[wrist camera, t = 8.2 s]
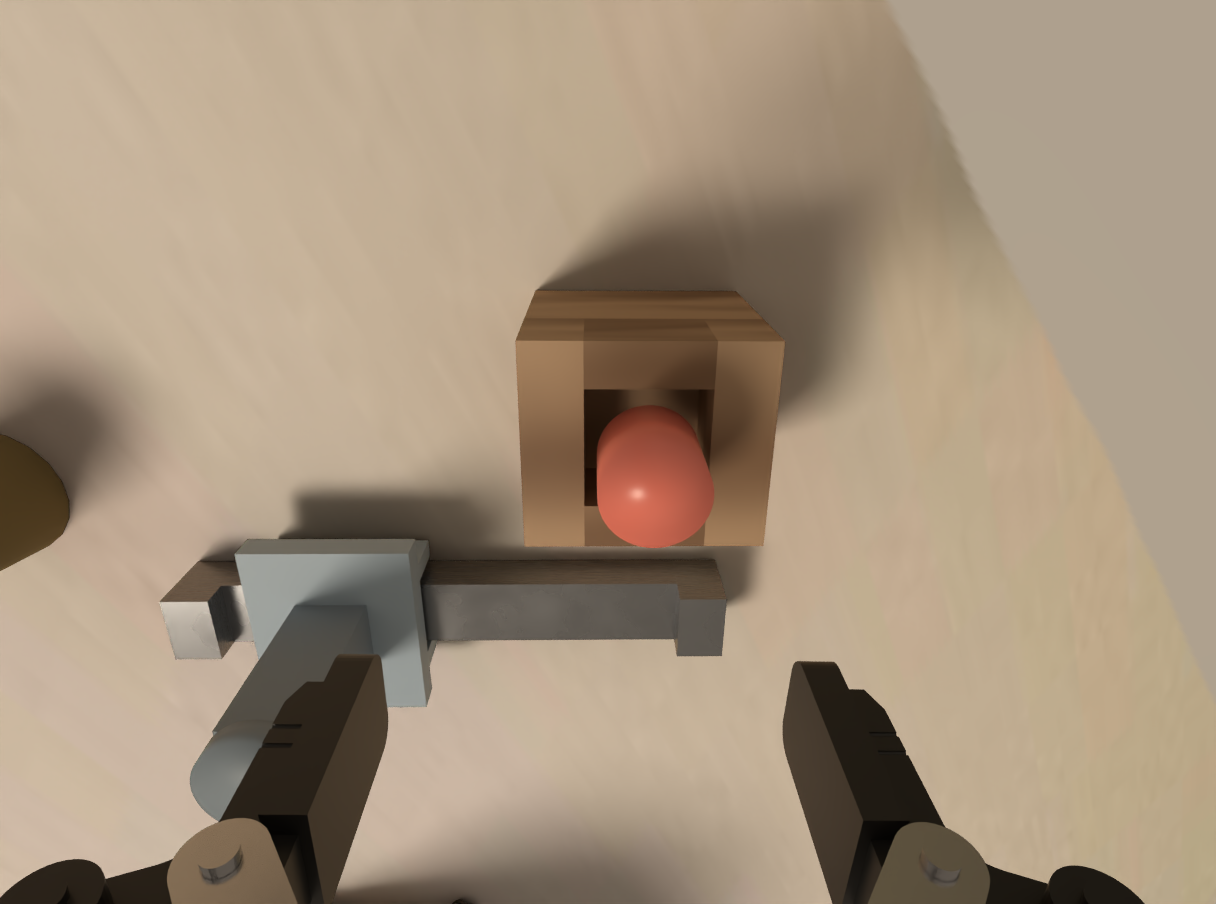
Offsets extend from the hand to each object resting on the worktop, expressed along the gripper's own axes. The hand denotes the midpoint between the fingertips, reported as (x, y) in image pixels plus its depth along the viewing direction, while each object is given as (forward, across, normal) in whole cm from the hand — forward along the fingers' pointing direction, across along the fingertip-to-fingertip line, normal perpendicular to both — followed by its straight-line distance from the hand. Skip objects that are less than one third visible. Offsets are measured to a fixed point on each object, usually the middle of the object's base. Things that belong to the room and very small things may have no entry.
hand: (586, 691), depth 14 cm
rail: (+18, +6, +10) cm, 21 cm away
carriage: (+18, +11, +10) cm, 23 cm away
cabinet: (+18, -2, -1) cm, 18 cm away
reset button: (+9, -2, -1) cm, 10 cm away
